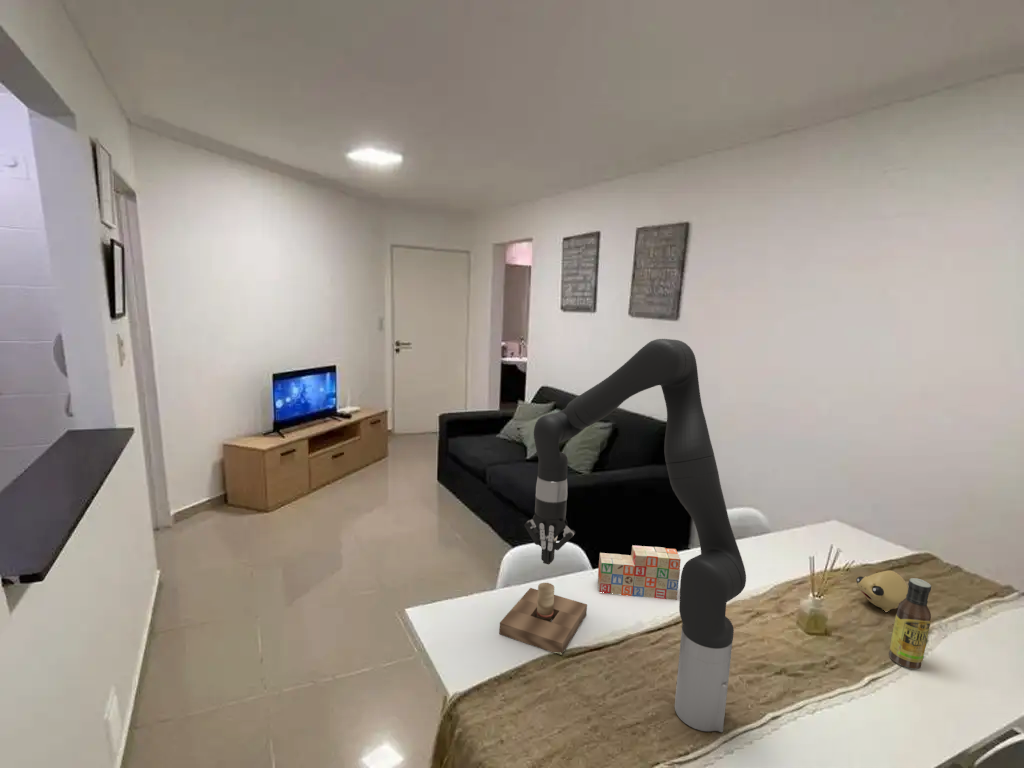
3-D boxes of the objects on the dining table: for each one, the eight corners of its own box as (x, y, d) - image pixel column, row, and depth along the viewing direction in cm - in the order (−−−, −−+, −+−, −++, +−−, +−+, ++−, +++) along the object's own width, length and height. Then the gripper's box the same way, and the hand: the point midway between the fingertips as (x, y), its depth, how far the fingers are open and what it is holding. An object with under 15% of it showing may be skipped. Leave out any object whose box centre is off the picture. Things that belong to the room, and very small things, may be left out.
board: (586, 615, 134) (587, 604, 134) (561, 655, 118) (562, 643, 118) (529, 598, 141) (530, 587, 141) (499, 634, 125) (499, 622, 125)
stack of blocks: (598, 593, 145) (601, 552, 143) (597, 582, 151) (600, 542, 149) (677, 600, 143) (681, 558, 141) (672, 588, 149) (676, 548, 147)
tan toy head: (846, 598, 147) (851, 563, 146) (883, 596, 149) (888, 561, 147) (875, 618, 138) (880, 581, 136) (914, 616, 139) (920, 579, 138)
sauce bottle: (899, 669, 118) (912, 588, 115) (882, 651, 124) (894, 573, 121) (929, 672, 117) (943, 590, 114) (910, 654, 123) (923, 576, 120)
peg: (555, 622, 131) (557, 585, 129) (549, 631, 127) (550, 593, 126) (540, 617, 132) (541, 581, 131) (533, 626, 129) (535, 588, 127)
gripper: (519, 494, 124) (516, 562, 127) (572, 506, 118) (567, 576, 121) (532, 485, 131) (529, 550, 134) (582, 495, 125) (578, 563, 128)
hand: (547, 562), depth 127 cm, fingers closed
